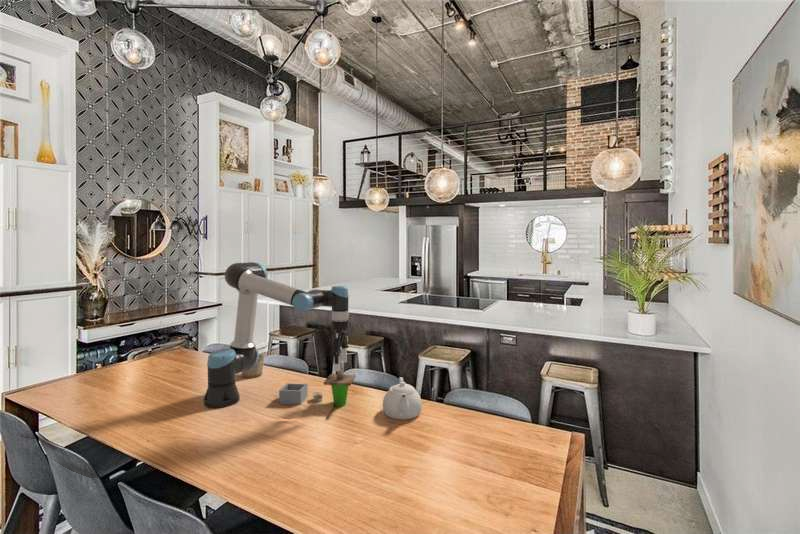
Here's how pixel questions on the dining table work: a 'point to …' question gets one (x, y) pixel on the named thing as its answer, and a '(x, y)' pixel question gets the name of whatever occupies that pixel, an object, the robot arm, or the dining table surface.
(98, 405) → the dining table surface
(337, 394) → the cup
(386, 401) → the teapot
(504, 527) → the dining table surface
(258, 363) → the planter
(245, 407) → the dining table surface
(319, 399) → the maple block
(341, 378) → the lid
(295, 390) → the grey open box
